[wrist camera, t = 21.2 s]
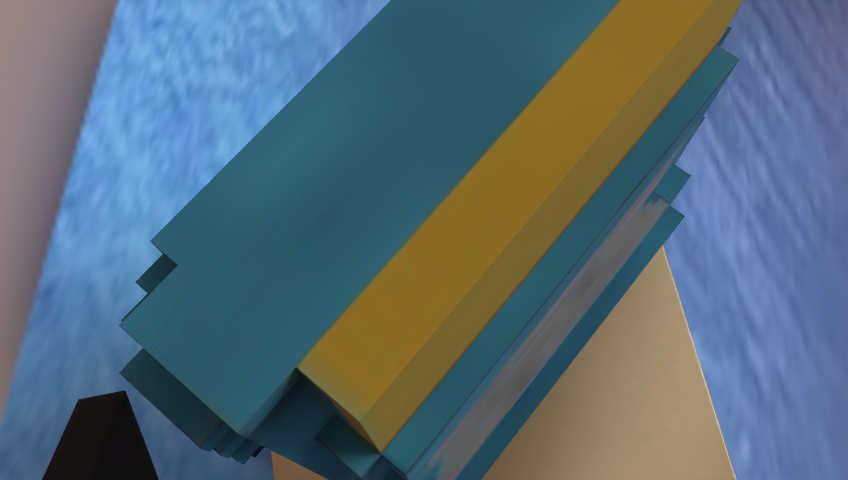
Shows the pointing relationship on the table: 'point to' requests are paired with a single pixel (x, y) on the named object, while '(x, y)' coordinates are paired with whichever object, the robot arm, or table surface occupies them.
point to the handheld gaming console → (427, 233)
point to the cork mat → (617, 403)
